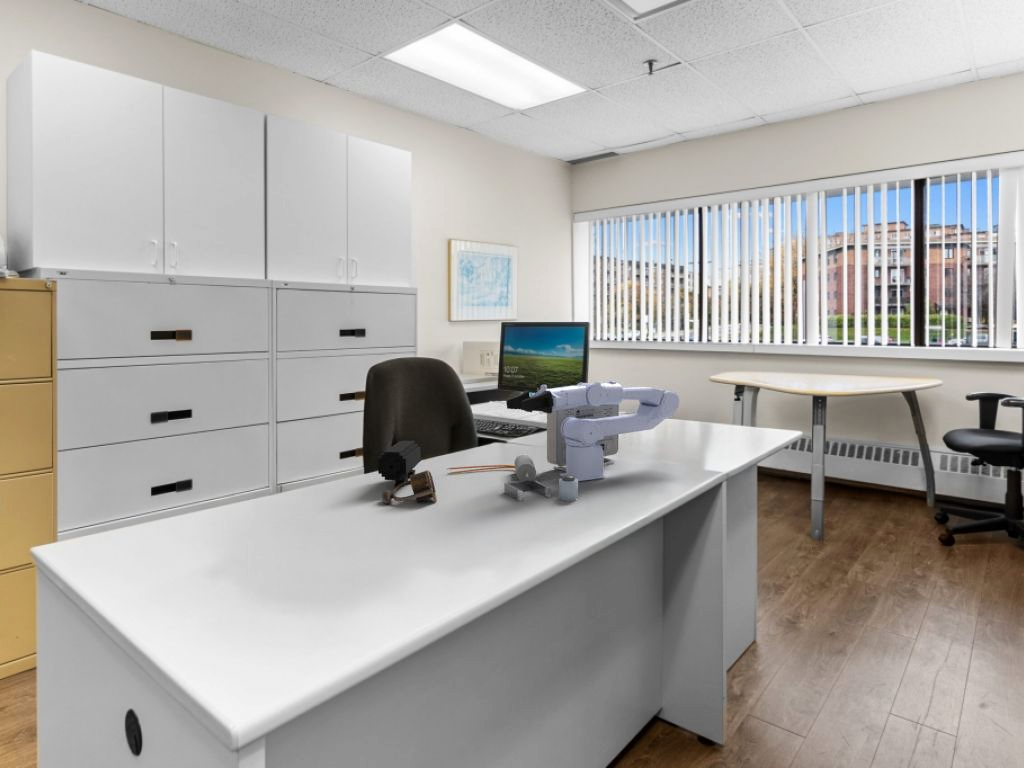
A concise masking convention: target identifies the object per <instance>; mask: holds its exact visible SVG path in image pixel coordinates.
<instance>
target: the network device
mask: <svg viewBox="0 0 1024 768" xmlns="http://www.w3.org/2000/svg"><path fill="white" fill-rule="evenodd" d="M619 411H620V403H619V404H611V405H600V406H598V407H596V406H590V405H584V406H579V407H574V408H568V409H562V410H555V411H552V413H551V414H549V413H546V460H547V462H548V464H552V465H554V469H555V470H558V471H559V470H560V471H563V472H566V443H565V438H564V437H563V436H562V434H561V425H562V423H563V421H564V420H565V419H566V418H568V417H575V418H577V419H599V418H606V417H614V416H620V413H619ZM595 443H598V444H600V445H601V447H602V449H603V454H604V465H606V466H609V465H608V464H610V465H613V464H614V461H615V460H614V459H610V458H607V457H609V456H613V455H617V453H618V452H619V434H617V435H611V436H604V438H603V439H602V440H598V441H597V442H595ZM606 461H607V462H606ZM612 463H613V464H612ZM604 465H603V467H604Z"/></svg>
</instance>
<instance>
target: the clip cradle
mask: <svg viewBox="0 0 1024 768" xmlns="http://www.w3.org/2000/svg"><path fill="white" fill-rule="evenodd" d="M503 487H504V493H505V494H506V495H508V496H510V497H512V498H513V499H515V500H518V501H519V502H522V501H524V491H529V490H533V491H535V492H537V493H539V494H541V495H543V496H545V497H546V496H547V498H550V497H552V495H551V494H552V488H551V487H550V486H549V485H546V484H545V483H543V482H540V481H537V479H536V480H535V479H534V480H524V481H520V480H517V481H511V482H510V481H508V482H506V483H505V482H504V486H503Z"/></svg>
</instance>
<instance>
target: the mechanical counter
mask: <svg viewBox="0 0 1024 768" xmlns="http://www.w3.org/2000/svg"><path fill="white" fill-rule="evenodd" d="M407 486H411V489H412V493H413V494H410V495H408V496H407V495H406V496H403V497H401V496H400V497H399V496H396V494H397V492H398V491H399V490H401V489H402V488H404V487H407ZM436 492H437V491H436V487H435V482H434V479H433V476H432V473H431V471H430V470H427V469H426V470H425V471H421V472H418V473H415V474H414V475H411V476H410V478H409V480H408V481H407V482H404V483H402V484H400V485H399V486H397V487H394V489H393V490H392V491H390V490H389V489H385V490H383V492H382V495H381V500H382V502H383V503H384V504H386V505H390V504H391V503H392V502H391V501H392V500H394V501H396V502H407V501H412V500H415V501H416V502H417V503H420V502H422V501H425V500H429V499H433V502H434V503H437V501H438V500H437V494H436Z"/></svg>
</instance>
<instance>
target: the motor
mask: <svg viewBox="0 0 1024 768" xmlns="http://www.w3.org/2000/svg"><path fill="white" fill-rule="evenodd" d="M460 469H462V470H460ZM463 469H465V470H463ZM499 469H514V470H515V473H516V478H517V479H518V481H524V480H535V479H536V477H537V470H536V467H535V463H534V460H533V459H532V457H531V456H530V455H529V454H526V453H521V454H519V455H517V456H516V458H514V465H513V464H512V465H510V464H509V465H508V464H496V465H495V464H493V465H491V464H490V465H473V466H470V465H469V466H458V467H456V466H455V467H448V468H446V470H457V471H450V472H447V475H450V474H451V475H453V474H459V473H460V474H461V473H469V472H478V471H486V470H499Z"/></svg>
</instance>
